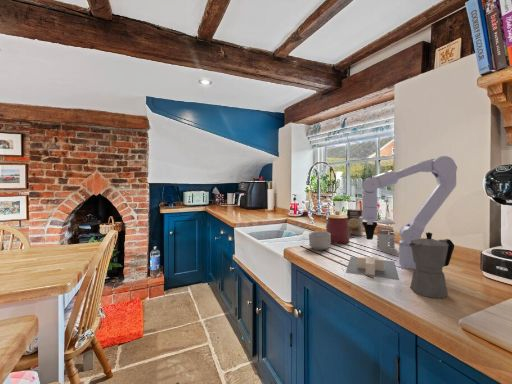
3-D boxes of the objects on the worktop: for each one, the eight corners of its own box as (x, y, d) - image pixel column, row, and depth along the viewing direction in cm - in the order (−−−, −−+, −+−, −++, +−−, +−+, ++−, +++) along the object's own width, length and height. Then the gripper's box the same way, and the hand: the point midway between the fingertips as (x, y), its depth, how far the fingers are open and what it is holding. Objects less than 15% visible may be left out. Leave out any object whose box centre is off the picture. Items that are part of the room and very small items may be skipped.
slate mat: (394, 262, 102) (394, 261, 102) (399, 281, 82) (399, 279, 82) (350, 257, 109) (350, 256, 109) (345, 273, 90) (345, 272, 90)
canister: (321, 241, 142) (321, 210, 141) (333, 237, 150) (333, 209, 150) (342, 245, 132) (342, 212, 131) (353, 241, 141) (353, 210, 140)
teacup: (331, 252, 118) (331, 235, 118) (308, 251, 121) (308, 234, 120) (329, 245, 132) (329, 230, 132) (308, 244, 134) (308, 229, 134)
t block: (383, 268, 93) (383, 258, 93) (384, 276, 85) (384, 265, 85) (357, 265, 97) (357, 255, 97) (356, 272, 89) (356, 261, 89)
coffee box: (346, 234, 160) (346, 209, 159) (348, 232, 165) (348, 209, 165) (361, 235, 155) (361, 210, 154) (363, 234, 160) (363, 209, 160)
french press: (371, 249, 123) (371, 199, 122) (381, 245, 130) (381, 198, 130) (392, 253, 115) (393, 200, 115) (401, 249, 123) (401, 199, 122)
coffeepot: (423, 301, 68) (424, 236, 68) (397, 287, 77) (398, 230, 77) (468, 295, 71) (469, 234, 71) (438, 283, 80) (439, 228, 80)
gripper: (359, 205, 111) (359, 235, 112) (359, 208, 98) (358, 242, 98) (377, 205, 108) (377, 236, 109) (378, 208, 95) (378, 243, 95)
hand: (369, 239), depth 103 cm, fingers closed
